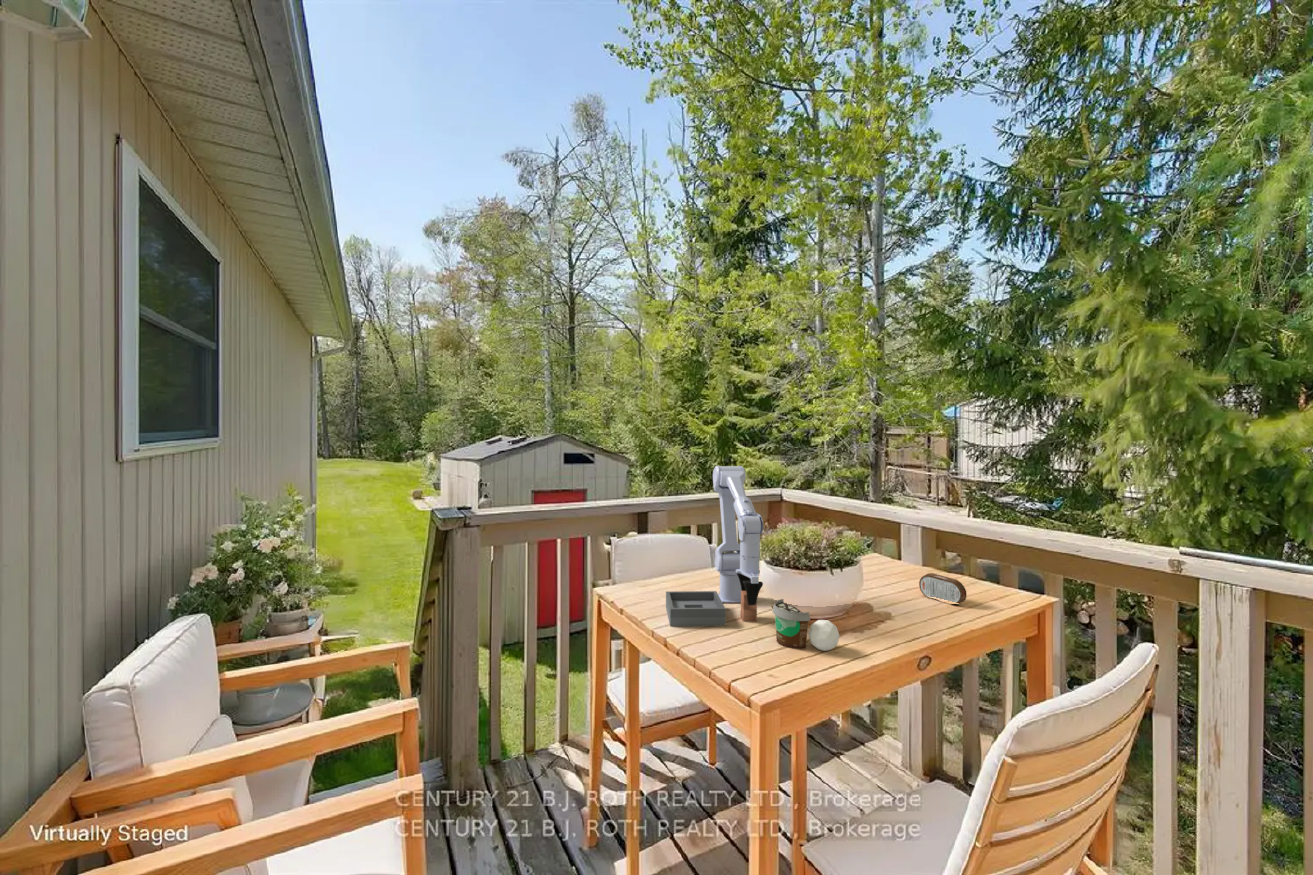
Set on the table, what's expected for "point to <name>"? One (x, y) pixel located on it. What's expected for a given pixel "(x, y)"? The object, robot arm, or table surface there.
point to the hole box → (695, 608)
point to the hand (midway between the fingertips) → (748, 600)
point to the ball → (823, 635)
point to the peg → (747, 609)
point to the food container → (790, 625)
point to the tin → (942, 588)
